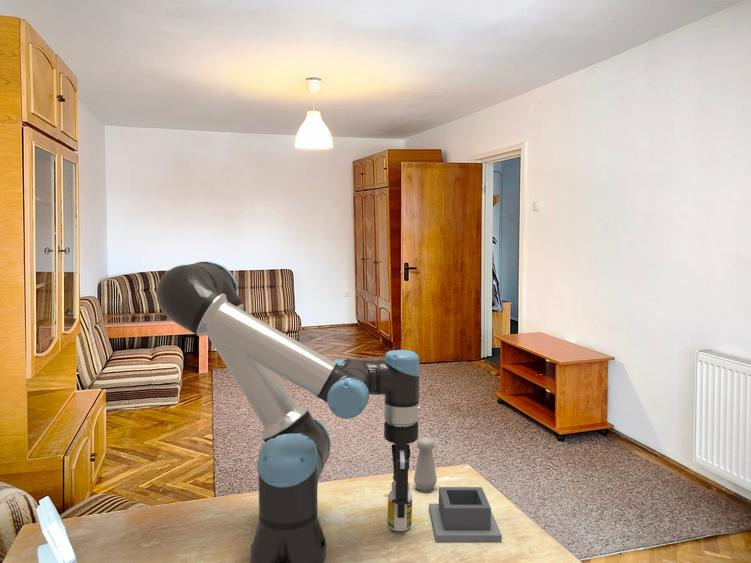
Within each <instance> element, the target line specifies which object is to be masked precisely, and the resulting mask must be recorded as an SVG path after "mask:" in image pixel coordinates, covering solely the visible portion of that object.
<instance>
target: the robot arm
mask: <svg viewBox="0 0 751 563" xmlns="http://www.w3.org/2000/svg"><path fill="white" fill-rule="evenodd" d="M237 287H238V286H237V282H236V279H235V277H234V275H233V273H231V271H230V270H229V269H228V268H227V267H226V266H224V265H221V264H220V263H216V262H213V261H198V262H195V263H191V264H190V263H189V264H182V265H181V264H180V265H177V266H174V267H172V268H171V269H168V270H167V271H165V273H164V274H163V275H162V276H161V277H160V279H159V281H158V283H157V287H156V301H157V304H158V306H159V308H160V310H161V311H162V313H163V314H164V315H165V316H166V317H167V318H168V319H170V320H171V321H173V322H174V323H176V324H177V325H179V326H180V327H182V328H184V329H185V330H187V331H189V332H191V333H192V334H194V335H196V336H198V337H204V336H207V337H208V339H209V340H210V342H211V344H212V345H213V347H214V348H215V351H216V352H217V353H218V355H219V356H220V358H221V361H223V364H224V365H225V367H226V368H227V369H228V371H229V373H230V374H231V376H232V378H233V379H234V381H235V382H236V385H237V386H238V388H239V389H240V391H241V392H242V394H243V396H244V397H245V399H246V400H247V402H248V404H249V406H250V408H251V409H252V411H253V412H254V414H255V415H256V417H257V418H258V420H259V421H260V423H261V425H262V427H263V428H262V429H263V430H262V434H261V439H262V441H263V442H264V444H262V445H261V446H260V447H261V448H260V450H259V451H258V459H257V472H258V519H259V520H258V524H257V527H256V531H255V534H254V538H253V541H252V544H251V546H250V563H324V562H325V561H326V558H327V541H326V538H325V534H324V532H323V528H322V526H321V522H320V520H319V518H318V484H319V479H320V478H321V474H322V472H323V470H324V467H325V465H326V463H327V461H328V459H329V456H330V453H331V437H330V434H329V431H328V429H327V427H326V426H325V425H324V423H322V422H321V421H320V420H319V419H316V418H314V417H313V416H312V415H311V414H310V411H309V410H308V408H307V407H304V406H301V405H300V406H299V405H298V404H297V403H296V401H295V400H294V398H293V397H292V395H291V394H290V392H289V390H288V388H287V387H286V385H285V383H284V382H283V380H282V379H281V378H283V379H285V380H286V381H288V382H290V383H292V384H294V385H295V386H297V387H299V388H301V389H302V390H304V391H305V392H307V393H309V394H311V395H313V396H315V397H316V398H319V399H321V401H323V402H325V403H327V405H328V406H327V407H328V408H329V410H330V411H331V413H332V414H334V415H335V416H336V417H338V418H340V419H345V420H350V419H354V418H356V417H358V416H359V415H360V414H362V412H363V411H364V410H365V408H366V407H367V406H368V403H369V399H370V396H371V395H373V396H381V395H382V396H384V406H383V407H384V408H383V413H384V414H383V419H384V424H383V425H384V426H383V430H384V431H383V438H384V439H385V440H386V441H387V442H389V443H392V444H391V453H392V454H391V455H392V463H393V464H392V465H393V466H392V468H393V475H392V479H393V481H396V487H395V500H393V499H392V503H395V504H394V530H393V531H396V532H406V531H408V530H407V504H408V482H409V470H410V458H411V449H410V444H411V443H415V442H416V441H418V440H419V422H418V421H419V412H420V411H422V406H419V403H420V377H421V376H420V375H421V373H420V372H421V370H420V356H419V355H418V353H416V352H414V351H412V350H408V349H396V350H395V349H394V350H389V351H387V352H386V353H385V355H384V358H383V359H380V360H379V359H378V360H377V359H354V358H353V359H352V358H344V359H343V358H341V359H339V358H337V359H333V360H332V359H329V358H328V357H326V356H325V355H322V354H321V353H319V352H317V351H316V350H313V349H312V348H311V347H308V346H307V345H305V344H303V343H302V342H299V341H297V340H296V339H294V338H293V337H290V336H289V335H288V334H286V333H283V332H282V331H280V330H278V329H277V328H275V327H273V326H272V325H270V324H268V323H266V322H264V321H263V320H261V319H259V318H258V317H255V316H254V315H251V314H250V313H248V312H247V311H245V310H243V309H244V303H243V302H242V300H241V298H240V296H239V294H238V293H237Z"/></svg>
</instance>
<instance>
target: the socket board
mask: <svg viewBox="0 0 751 563" xmlns="http://www.w3.org/2000/svg"><path fill="white" fill-rule="evenodd" d="M428 511H429V516H430V522H431V526H432V530H433V534H434V540H435V542H436V543H502V541H503V540H502V538H503V535H502V533H501V531H500V528H499V525H498V523H497V520H496V519H495V517H494V516H495V515H494V513H493V511H492V507H491V506H490V503H489V500H488V498H487V495H486V494H485V492H484V489H483V487H482V486H479V487H478V486H438V503H429V504H428Z"/></svg>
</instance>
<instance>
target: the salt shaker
mask: <svg viewBox="0 0 751 563" xmlns="http://www.w3.org/2000/svg"><path fill="white" fill-rule="evenodd" d="M416 441H417V442H416V446H417V449H419V451H418V456H417V462H416V466H415V469H414V470H415V472H414V475H413V476H414V477H413V481H414V484H415V487H416V489H417V491H420V492H422V493H428V492H429V493H430V492H432V490H434V488H435V486H436V484H437V481H438V480H437V473H436V472H437V471H436V467H435V462H434V460H435V459H434V455H433V450H434V447H435V442H434V439H432V438H431V437H420V438H418V439H417V440H416Z"/></svg>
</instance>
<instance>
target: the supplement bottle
mask: <svg viewBox="0 0 751 563" xmlns="http://www.w3.org/2000/svg"><path fill="white" fill-rule="evenodd" d="M410 486H411V485H410V483H409V481H408V504H407V531H408V530H409V529H411V527H412V521H413V520H412V518H413V517H412V516H413V495H412V492H410V490H411V489H410ZM395 487H396V481H394V480H393V481H392V482H391V490H390V491H389V493H388V496H387V522H386V523H387V527H388V528H389V529H390V530H392V531H394V504H395V503H392V499H393V500H395Z"/></svg>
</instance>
